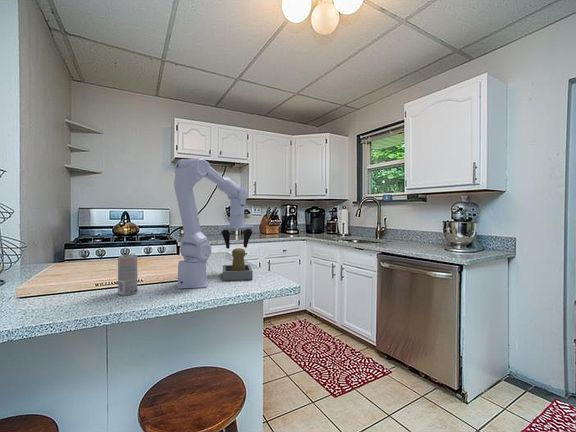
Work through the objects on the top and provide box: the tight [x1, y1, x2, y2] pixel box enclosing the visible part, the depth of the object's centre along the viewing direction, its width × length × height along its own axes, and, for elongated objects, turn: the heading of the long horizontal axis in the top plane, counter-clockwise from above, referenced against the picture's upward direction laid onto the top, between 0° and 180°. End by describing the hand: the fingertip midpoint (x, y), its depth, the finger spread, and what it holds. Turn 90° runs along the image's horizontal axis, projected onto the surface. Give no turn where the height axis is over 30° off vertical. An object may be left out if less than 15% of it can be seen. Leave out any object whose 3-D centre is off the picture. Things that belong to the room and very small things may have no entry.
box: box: [222, 264, 254, 282], centre depth 113 cm, size 11×11×4 cm
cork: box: [231, 247, 246, 271], centre depth 112 cm, size 6×6×11 cm
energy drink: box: [117, 253, 138, 297], centre depth 90 cm, size 5×5×12 cm
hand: (236, 247), depth 119 cm, fingers open, 7 cm apart
